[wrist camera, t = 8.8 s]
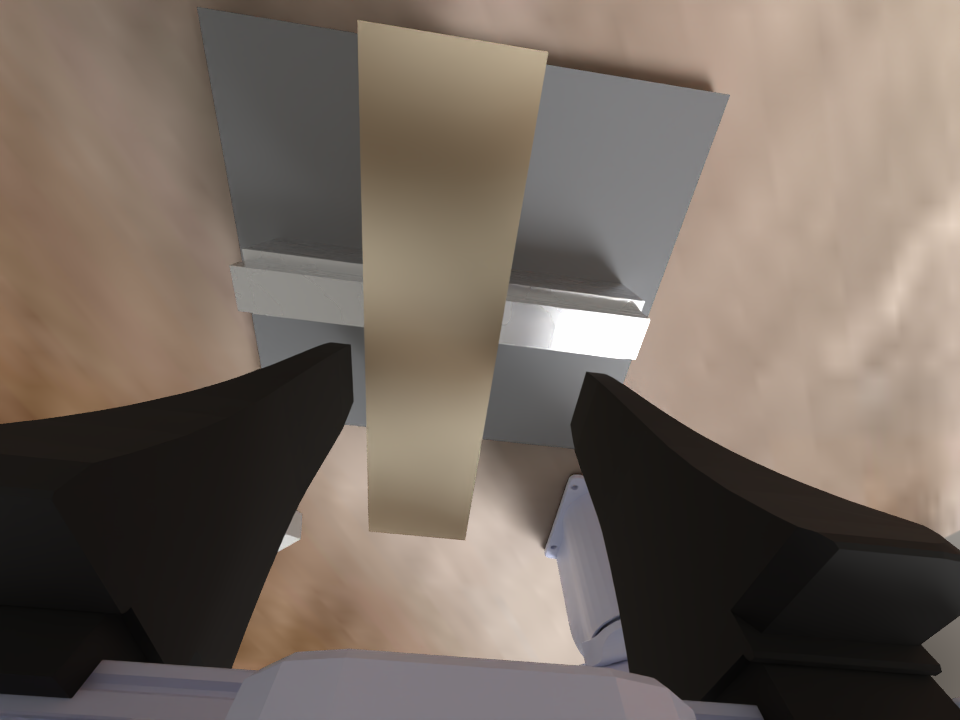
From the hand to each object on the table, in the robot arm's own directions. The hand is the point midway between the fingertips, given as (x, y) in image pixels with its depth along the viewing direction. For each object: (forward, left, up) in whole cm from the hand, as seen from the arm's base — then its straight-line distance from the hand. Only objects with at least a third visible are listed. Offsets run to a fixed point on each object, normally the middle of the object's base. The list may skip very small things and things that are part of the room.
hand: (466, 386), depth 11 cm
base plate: (0, +1, -10) cm, 10 cm away
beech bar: (0, +1, -5) cm, 5 cm away
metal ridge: (0, +1, -9) cm, 9 cm away
